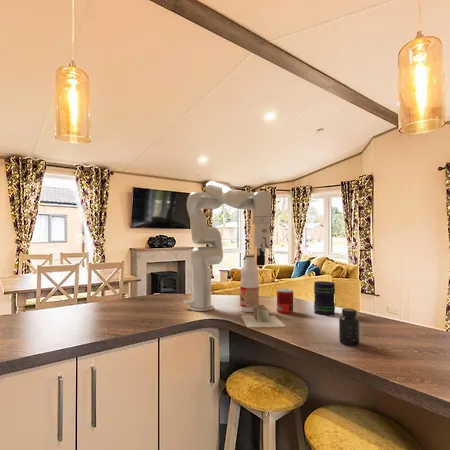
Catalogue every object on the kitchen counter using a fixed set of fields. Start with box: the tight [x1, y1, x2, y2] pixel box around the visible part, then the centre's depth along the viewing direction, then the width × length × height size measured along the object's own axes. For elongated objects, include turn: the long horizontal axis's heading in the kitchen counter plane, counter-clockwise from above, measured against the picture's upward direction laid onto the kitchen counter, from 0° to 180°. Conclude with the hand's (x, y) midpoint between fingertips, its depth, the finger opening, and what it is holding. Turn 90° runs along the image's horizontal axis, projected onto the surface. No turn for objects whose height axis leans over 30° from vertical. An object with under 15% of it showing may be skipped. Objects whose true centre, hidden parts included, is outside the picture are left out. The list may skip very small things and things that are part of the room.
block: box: [252, 304, 270, 322], centre depth 144 cm, size 5×5×11 cm
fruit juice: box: [239, 254, 260, 313], centre depth 162 cm, size 9×9×28 cm
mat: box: [240, 314, 286, 329], centre depth 141 cm, size 16×18×1 cm
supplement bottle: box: [338, 307, 361, 347], centre depth 114 cm, size 7×7×12 cm
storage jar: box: [313, 280, 336, 317], centre depth 158 cm, size 10×10×15 cm
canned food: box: [276, 288, 294, 315], centre depth 159 cm, size 8×8×11 cm
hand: (260, 265), depth 134 cm, fingers closed
